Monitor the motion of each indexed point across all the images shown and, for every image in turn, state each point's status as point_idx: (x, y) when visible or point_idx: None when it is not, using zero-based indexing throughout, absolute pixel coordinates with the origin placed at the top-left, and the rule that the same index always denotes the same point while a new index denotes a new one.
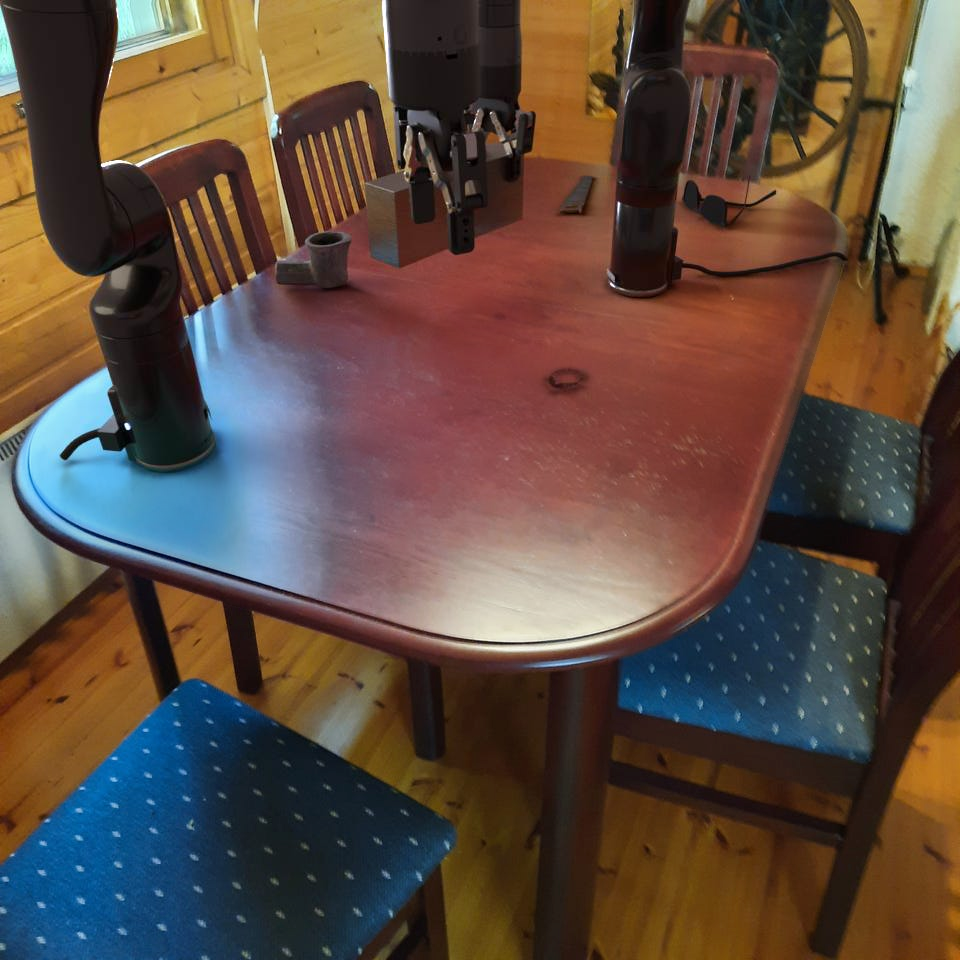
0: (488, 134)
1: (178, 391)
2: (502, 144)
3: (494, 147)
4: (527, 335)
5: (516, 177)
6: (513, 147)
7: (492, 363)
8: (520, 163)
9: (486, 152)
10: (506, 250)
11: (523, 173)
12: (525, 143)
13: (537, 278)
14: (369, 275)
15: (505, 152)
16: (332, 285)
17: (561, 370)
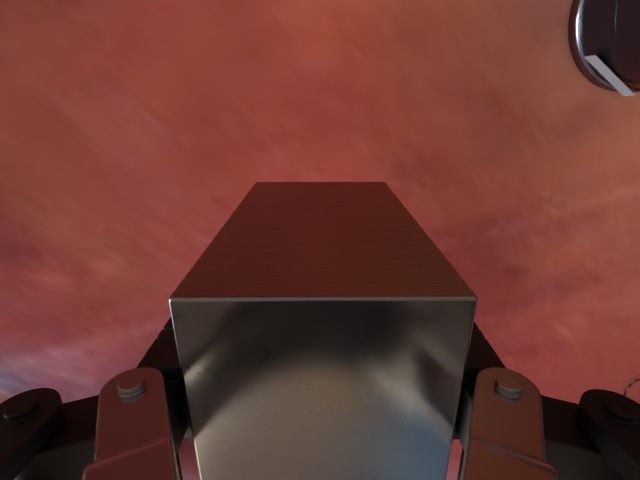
0: (172, 438)
1: None
2: (258, 304)
3: (272, 386)
4: (523, 336)
5: None
6: (378, 310)
7: None
8: (495, 355)
9: (316, 477)
10: (226, 50)
11: (427, 236)
12: (621, 464)
13: (402, 141)
14: (134, 340)
15: (408, 416)
16: None
17: (628, 387)
